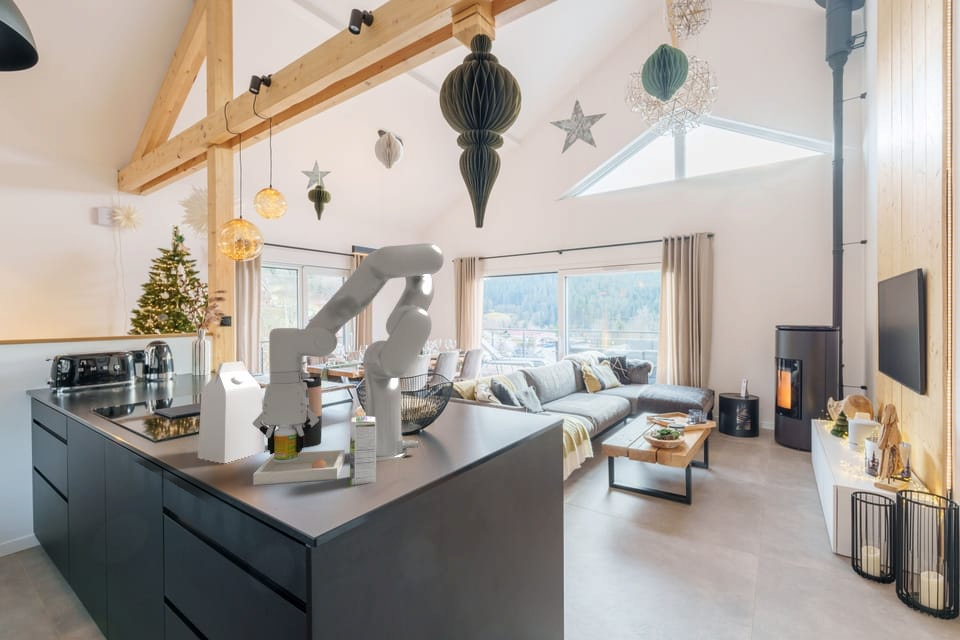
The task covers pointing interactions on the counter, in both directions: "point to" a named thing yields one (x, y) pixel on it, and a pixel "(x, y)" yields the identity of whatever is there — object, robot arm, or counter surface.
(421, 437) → the counter surface
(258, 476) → the tray
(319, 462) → the ball
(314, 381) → the travel mug
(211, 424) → the milk
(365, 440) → the syrup box
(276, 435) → the supplement bottle
